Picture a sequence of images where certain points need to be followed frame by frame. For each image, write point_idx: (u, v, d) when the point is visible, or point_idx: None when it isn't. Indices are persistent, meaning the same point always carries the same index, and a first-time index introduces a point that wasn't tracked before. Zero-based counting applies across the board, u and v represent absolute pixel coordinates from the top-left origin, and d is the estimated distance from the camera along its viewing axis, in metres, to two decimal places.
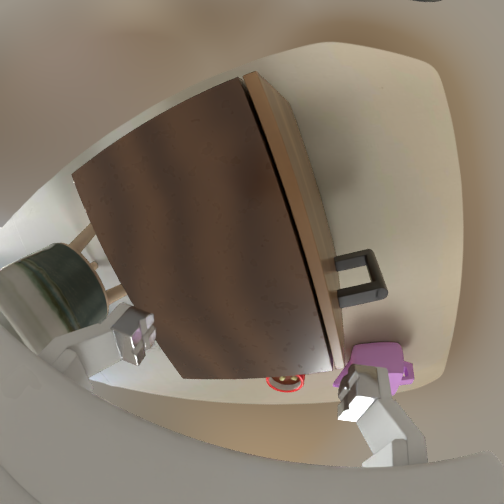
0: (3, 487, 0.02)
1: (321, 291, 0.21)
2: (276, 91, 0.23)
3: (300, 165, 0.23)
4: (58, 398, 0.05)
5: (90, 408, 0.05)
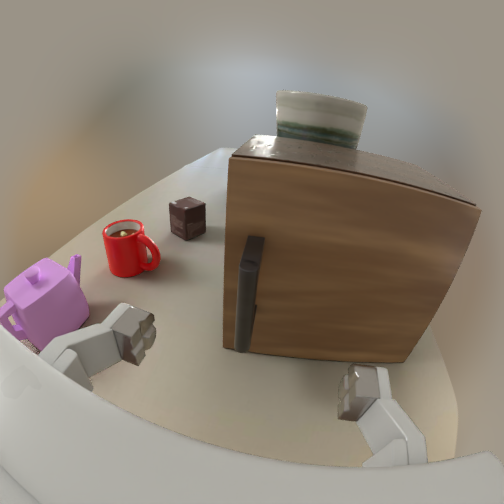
0: (3, 487, 0.02)
1: (340, 171, 0.22)
2: (451, 281, 0.25)
3: (410, 251, 0.24)
4: (58, 398, 0.05)
5: (90, 408, 0.05)
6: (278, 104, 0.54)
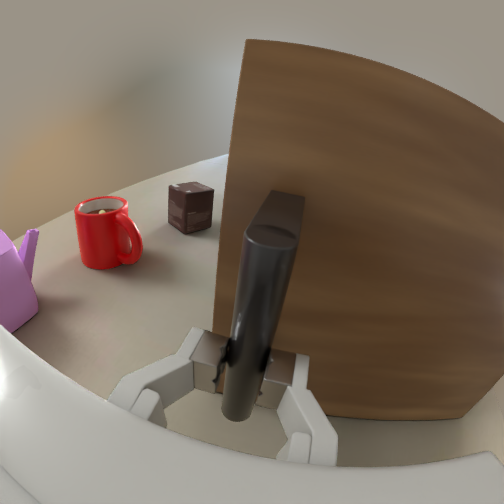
0: (3, 487, 0.02)
1: None
2: None
3: None
4: (58, 398, 0.05)
5: (90, 408, 0.05)
6: None
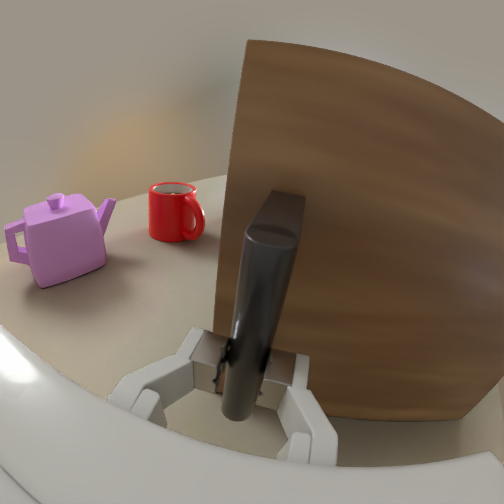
0: (3, 487, 0.02)
1: None
2: None
3: None
4: (58, 398, 0.05)
5: (90, 408, 0.05)
6: None
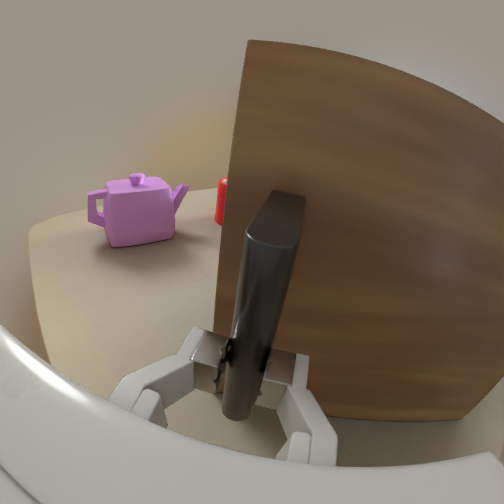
0: (3, 487, 0.02)
1: None
2: None
3: None
4: (58, 398, 0.05)
5: (90, 408, 0.05)
6: None
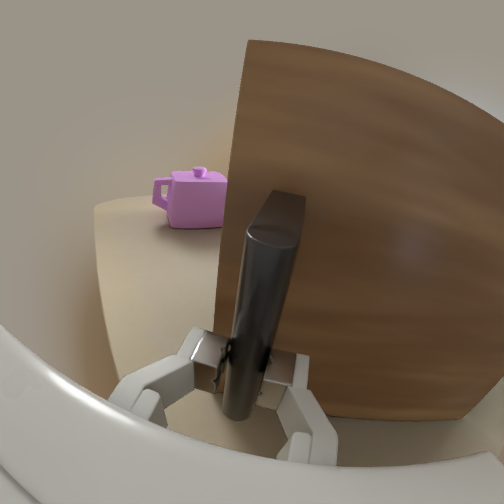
0: (3, 487, 0.02)
1: None
2: None
3: None
4: (58, 398, 0.05)
5: (90, 408, 0.05)
6: None
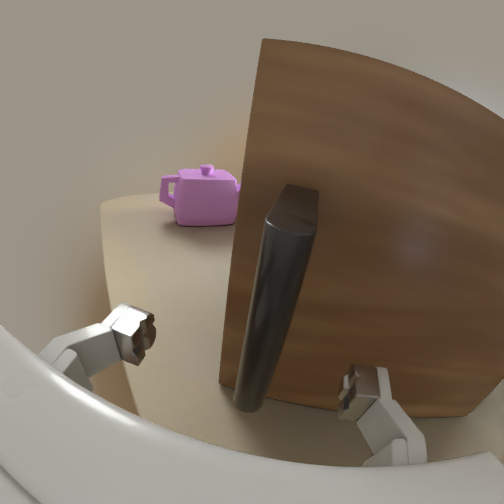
0: (3, 487, 0.02)
1: None
2: None
3: None
4: (58, 398, 0.05)
5: (90, 408, 0.05)
6: None
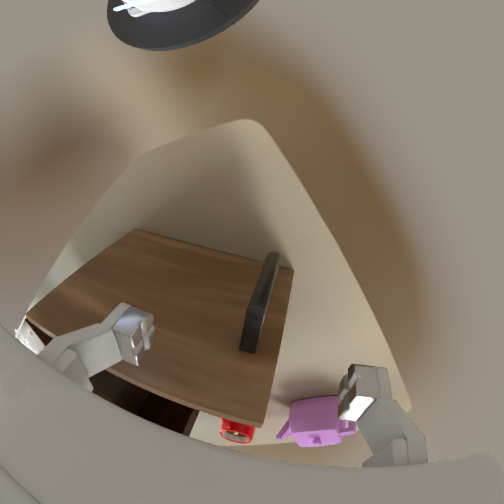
0: (3, 487, 0.02)
1: (148, 388, 0.19)
2: (74, 273, 0.29)
3: (103, 307, 0.25)
4: (58, 398, 0.05)
5: (90, 408, 0.05)
6: None
